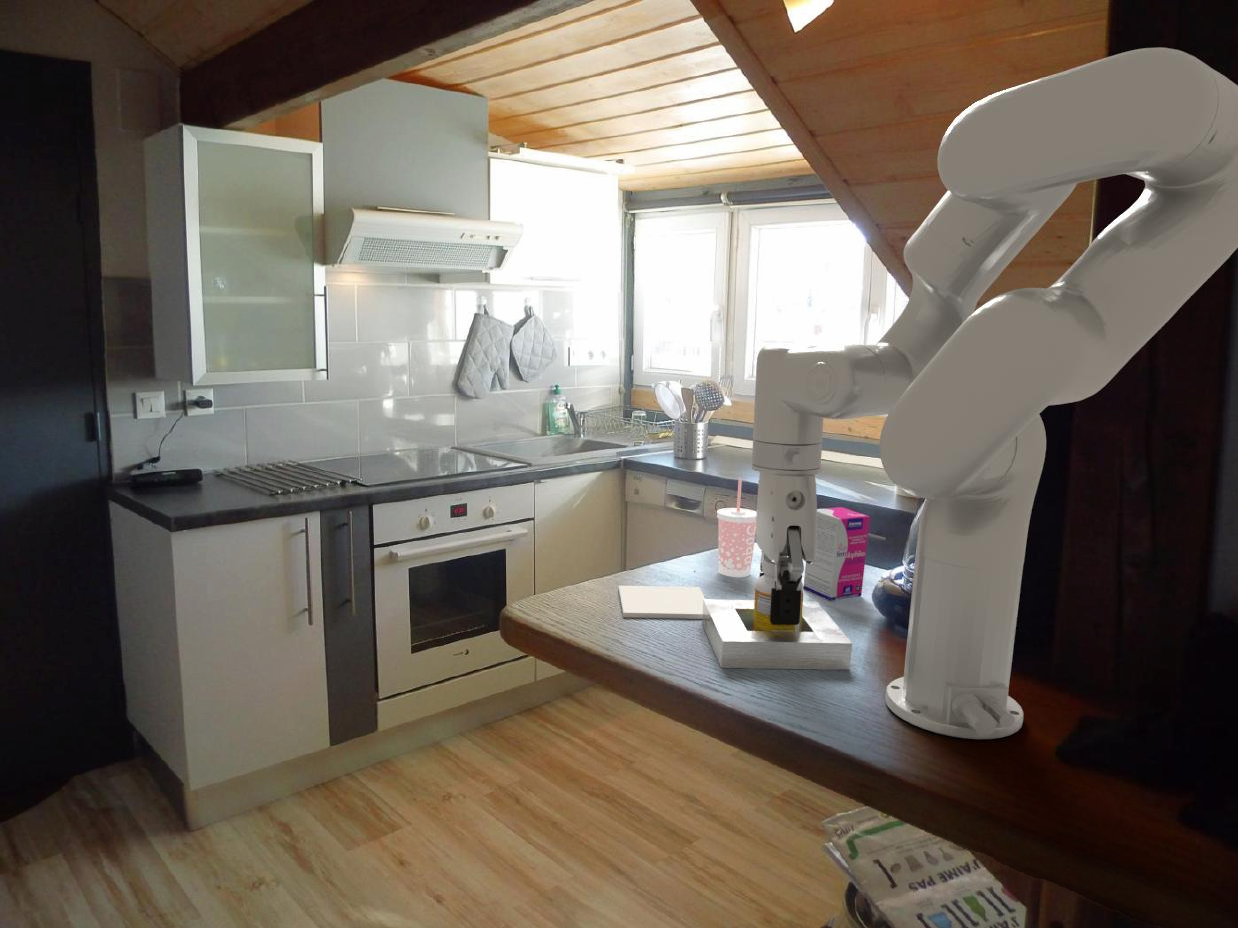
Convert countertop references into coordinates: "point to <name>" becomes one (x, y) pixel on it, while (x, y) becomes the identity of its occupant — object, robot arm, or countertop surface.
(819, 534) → the supplement box
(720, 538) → the beverage cup
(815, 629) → the concrete holder
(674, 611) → the plastic mat
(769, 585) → the supplement bottle
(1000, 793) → the countertop surface
